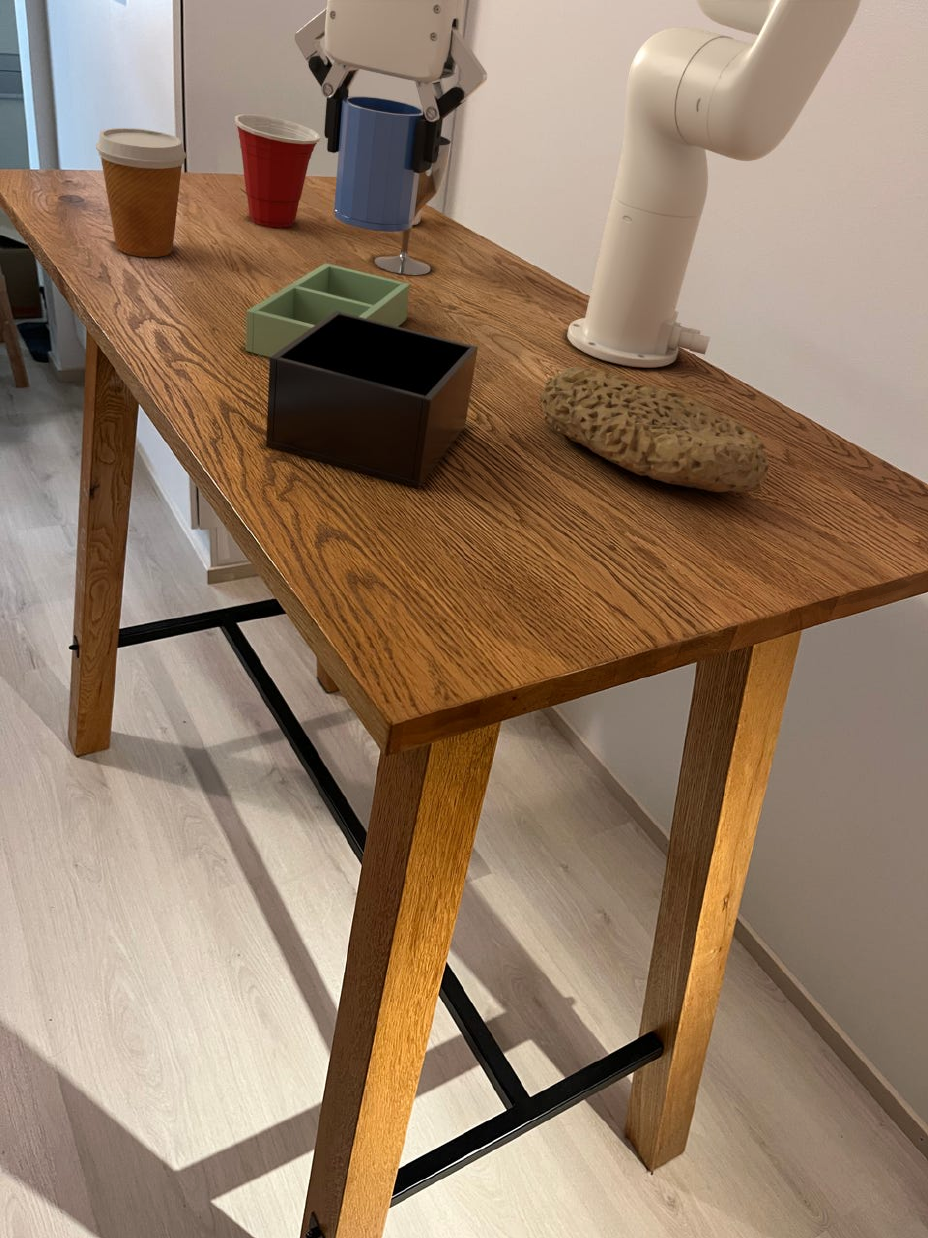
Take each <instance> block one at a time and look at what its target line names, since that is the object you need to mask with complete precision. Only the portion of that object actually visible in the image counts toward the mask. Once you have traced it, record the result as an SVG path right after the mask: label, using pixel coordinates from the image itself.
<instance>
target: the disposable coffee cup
mask: <svg viewBox="0 0 928 1238" xmlns="http://www.w3.org/2000/svg"><path fill="white" fill-rule="evenodd" d="M95 149H96V150H97V151H98V156H99V157H100V160H101V166H102V171H103V177H104V178H103V179H104V183H105V191H106V196H107V202H108V207H109V214H110V220H111V225H112V230H113V237H114V242H115V243H114V244H115V248H116V249H117V250H118V251H120V252H122V253H124V254H127V255H130V256H135V257H141V258H159V257H165V256H168V255H170V254H171V253H173V250H174V249H173V248H174V240H175V232H176V231H175V230H176V222H177V214H178V213H177V212H178V204H179V194H180V185H181V178H182V177H181V176H182V167H183V164H184V163H185V159H186V158H187V153H186V152H185V151H184V147H183V143H182V140H181V139H180V138H179V137H177V136H174V135H172V134H169V133H165V132H162V131H158V130H151V129H145V128H136V127H135V128H132V127H114V128H113V127H111V128H107V129H103V130H101V131H100V132H99V135H98V141H97V142H96V143H95Z"/></svg>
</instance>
